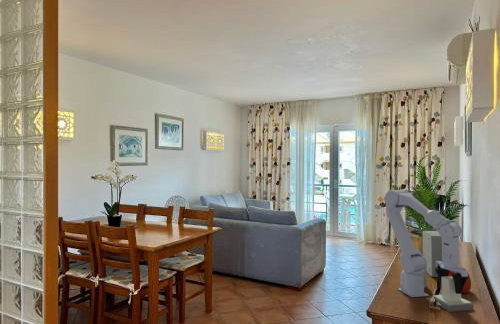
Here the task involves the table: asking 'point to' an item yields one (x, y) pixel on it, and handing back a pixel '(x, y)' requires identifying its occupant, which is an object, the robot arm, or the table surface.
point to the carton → (449, 289)
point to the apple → (467, 284)
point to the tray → (454, 304)
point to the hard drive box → (432, 250)
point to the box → (425, 277)
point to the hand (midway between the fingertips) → (451, 289)
